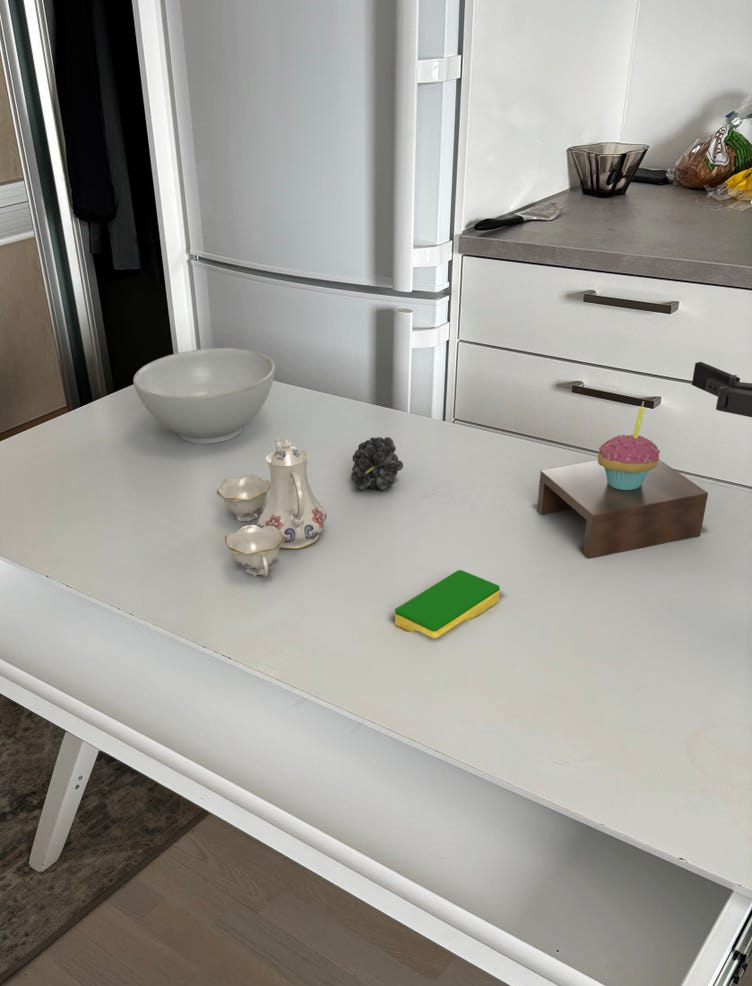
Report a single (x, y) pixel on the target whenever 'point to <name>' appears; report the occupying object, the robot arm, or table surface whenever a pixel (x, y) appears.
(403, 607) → the dish sponge
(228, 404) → the decorative bowl
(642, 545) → the shelf
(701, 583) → the table surface
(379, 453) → the fruit
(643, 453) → the cupcake
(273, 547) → the chinaware
